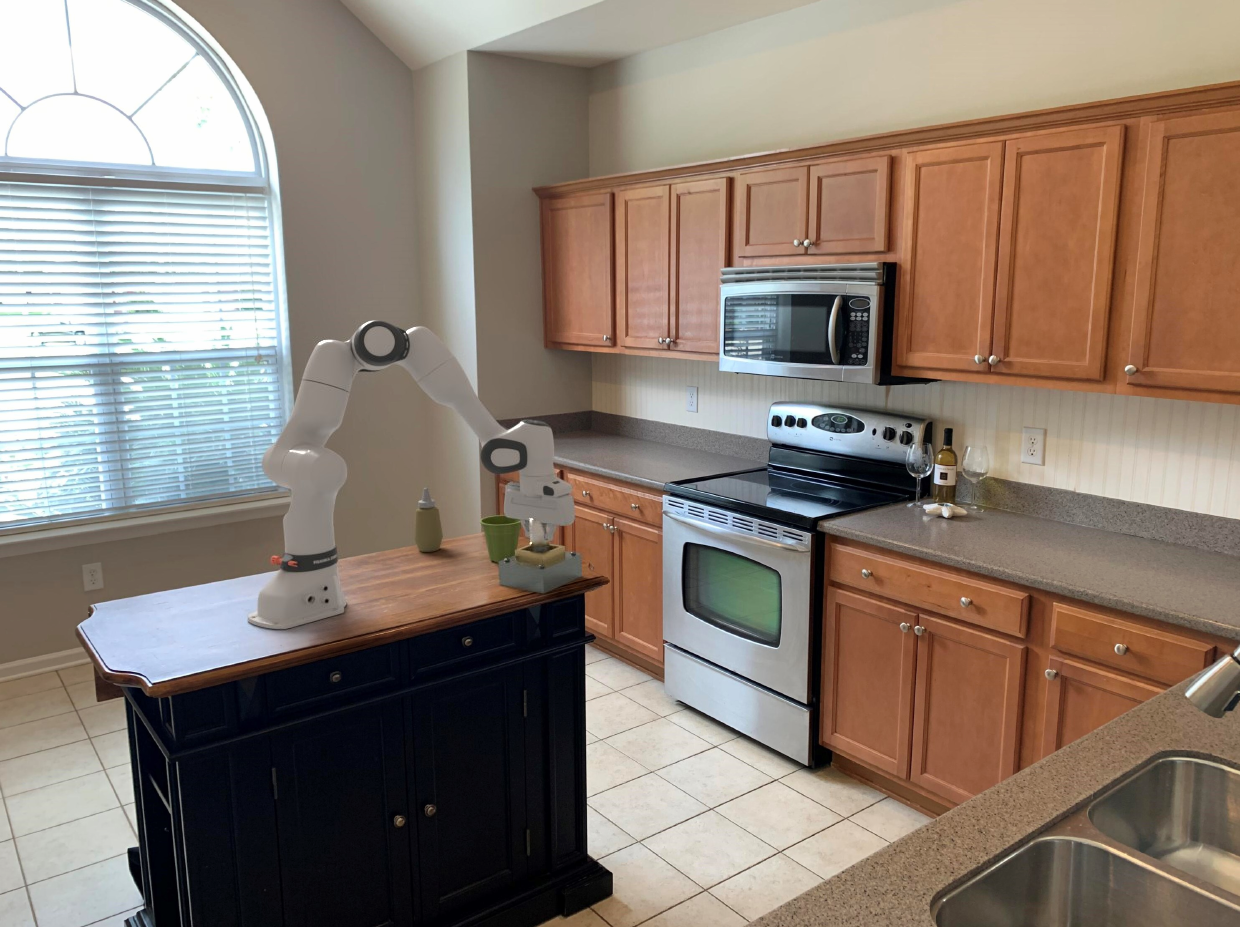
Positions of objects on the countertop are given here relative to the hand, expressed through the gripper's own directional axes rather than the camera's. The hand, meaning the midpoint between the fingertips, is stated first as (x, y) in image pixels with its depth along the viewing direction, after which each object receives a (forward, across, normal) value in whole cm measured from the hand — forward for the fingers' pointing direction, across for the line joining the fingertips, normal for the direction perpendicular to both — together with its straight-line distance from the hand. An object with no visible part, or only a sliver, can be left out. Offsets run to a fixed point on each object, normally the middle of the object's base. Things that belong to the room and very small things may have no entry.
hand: (539, 538), depth 239 cm
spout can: (+4, 0, 0) cm, 4 cm away
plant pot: (+11, -21, +10) cm, 26 cm away
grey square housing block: (+11, 0, 0) cm, 11 cm away
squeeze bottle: (+11, -46, +7) cm, 48 cm away
